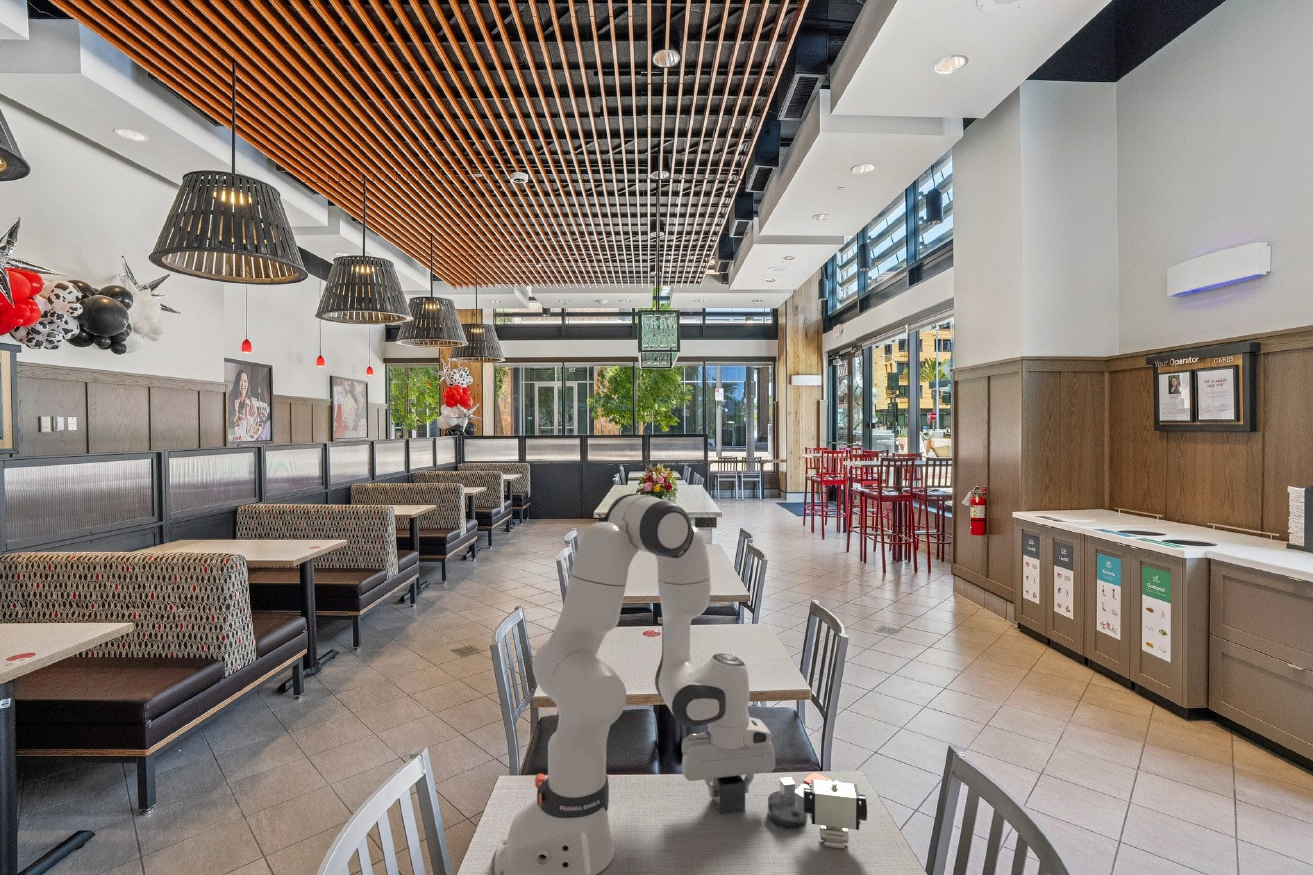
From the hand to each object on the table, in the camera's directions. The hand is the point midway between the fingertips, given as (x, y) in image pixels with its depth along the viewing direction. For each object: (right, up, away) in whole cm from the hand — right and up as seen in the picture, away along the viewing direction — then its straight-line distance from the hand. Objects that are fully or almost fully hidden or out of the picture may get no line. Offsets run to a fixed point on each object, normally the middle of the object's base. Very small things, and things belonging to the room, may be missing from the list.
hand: (728, 793), depth 132 cm
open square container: (0, -2, 0) cm, 2 cm away
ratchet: (+15, -2, 0) cm, 16 cm away
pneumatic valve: (+20, -3, -12) cm, 23 cm away
